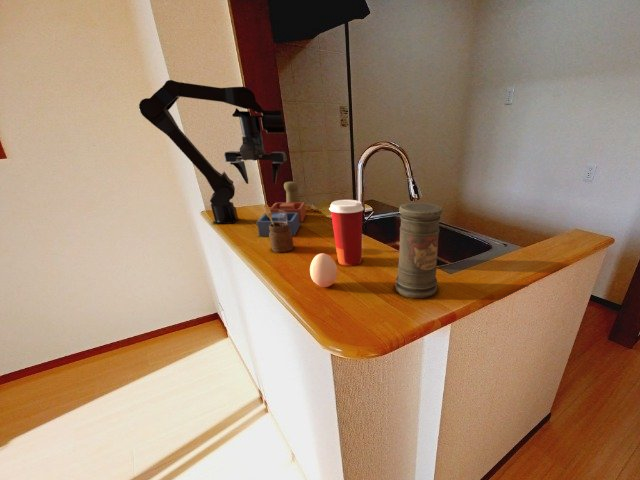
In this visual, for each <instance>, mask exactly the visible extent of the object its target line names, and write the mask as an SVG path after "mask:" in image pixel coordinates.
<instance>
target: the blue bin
mask: <svg viewBox="0 0 640 480" xmlns="http://www.w3.org/2000/svg"><path fill="white" fill-rule="evenodd" d="M271 214H278V213H271ZM279 214H280V213H279ZM281 214H285V213H281ZM286 214H287V220H288V221H280V222H285V223H286V222H287V223H288V224H289V227H290V228H289V230H290V231H291V233H292V237H295V236H296V234H297V232H298V231H299V228H300V227H301V222H299V216H298V213H286ZM277 222H278V221H273V223H277ZM270 224H272V222H271V221H270V218H269V217H268V216H267V214H266V212H264V214H263V215H262V216H261V217H259V219H257V221H256V227H257V230H258V235H259V236H258V237H269V233H270V230H269V225H270Z"/></svg>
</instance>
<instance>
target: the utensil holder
mask: <svg viewBox="0 0 640 480" xmlns="http://www.w3.org/2000/svg"><path fill="white" fill-rule="evenodd" d="M263 208H264V211H265V213H266V214H267V216H268V217H269V218H270V219H271V222H272V224H270V225H269V230H270V233H269V236H268V237H269V242H270V247H271V249H272V251H273V252H274V253H288V252H290V251H292V250H293V249H294V239H293V236H292V233H291V231H290V230H289V228H290V227H289V224H288V223H287V222H286V223H285V222H280V221H278V222H277V223H273V221H272V218H271V217H272V214H271V211H270V207H269V204H264V205H263ZM269 212H270V213H269ZM278 214H279V213H278ZM280 214H281V213H280ZM285 214H286V213H285Z"/></svg>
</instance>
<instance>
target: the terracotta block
mask: <svg viewBox="0 0 640 480" xmlns="http://www.w3.org/2000/svg"><path fill="white" fill-rule="evenodd" d="M281 203H282V204H281V205H280V209H295V204H294V203H286V202H281Z"/></svg>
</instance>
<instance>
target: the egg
mask: <svg viewBox="0 0 640 480" xmlns="http://www.w3.org/2000/svg"><path fill="white" fill-rule="evenodd" d="M311 260H312V261H311V263H310V266H309V275H310V278H311V280H312V281H313V283H314V284H315V285H317V286H318V287H321V288H328V287H331V286H332V285H333V284H334V283H335V282H336V280H337V278H338V267H337V264H336V262H335V260H334V259H333V257H332V256H330V255H329V254H327V253H324V252H323V253H318V254H316V255H315V256H314V257H313V259H311Z"/></svg>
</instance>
